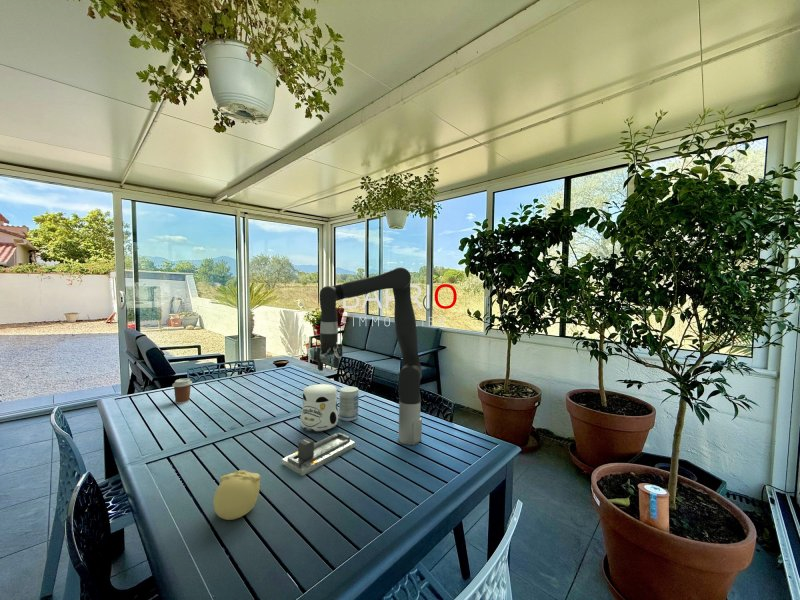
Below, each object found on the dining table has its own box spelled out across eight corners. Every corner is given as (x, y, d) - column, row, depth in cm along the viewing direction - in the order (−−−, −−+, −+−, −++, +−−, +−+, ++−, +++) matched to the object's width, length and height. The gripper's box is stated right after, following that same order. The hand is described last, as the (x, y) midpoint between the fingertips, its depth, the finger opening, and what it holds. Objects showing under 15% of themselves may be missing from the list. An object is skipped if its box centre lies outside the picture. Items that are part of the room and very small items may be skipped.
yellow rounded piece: (265, 496, 98) (265, 463, 98) (247, 525, 86) (247, 487, 86) (227, 496, 98) (227, 462, 97) (205, 525, 86) (205, 487, 85)
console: (335, 438, 137) (335, 430, 137) (355, 446, 130) (355, 438, 130) (282, 464, 116) (282, 455, 116) (302, 476, 109) (302, 466, 109)
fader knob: (307, 453, 120) (307, 437, 120) (313, 456, 118) (313, 440, 117) (298, 457, 117) (298, 441, 117) (304, 461, 114) (305, 444, 114)
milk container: (299, 437, 137) (300, 396, 136) (301, 420, 154) (301, 384, 153) (339, 433, 142) (340, 393, 141) (337, 417, 158) (337, 382, 158)
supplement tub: (358, 421, 155) (358, 391, 154) (338, 422, 153) (339, 392, 153) (358, 413, 164) (358, 385, 164) (339, 414, 163) (340, 386, 162)
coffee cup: (174, 399, 177) (174, 378, 177) (193, 397, 181) (193, 377, 181) (170, 405, 169) (170, 383, 169) (190, 403, 173) (190, 381, 173)
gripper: (321, 334, 129) (321, 373, 129) (346, 331, 140) (346, 367, 141) (310, 332, 133) (309, 370, 134) (335, 329, 145) (334, 364, 145)
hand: (328, 368), depth 137 cm, fingers open, 8 cm apart
